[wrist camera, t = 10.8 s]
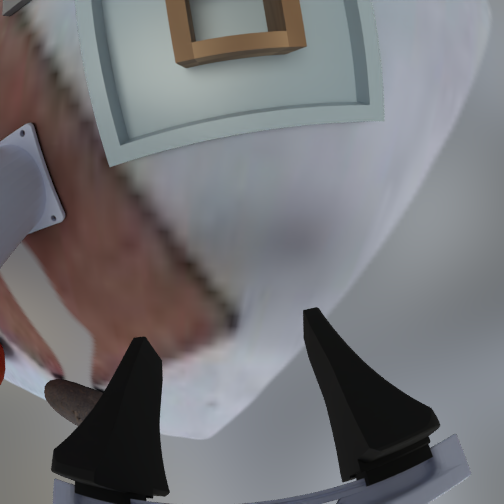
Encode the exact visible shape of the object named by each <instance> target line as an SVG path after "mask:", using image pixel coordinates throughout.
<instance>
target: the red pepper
mask: <svg viewBox="0 0 504 504" xmlns="http://www.w3.org/2000/svg"><path fill="white" fill-rule="evenodd" d="M4 374H5V354H4V350H3V347H2V345H1V344H0V385H1V383H2V381H3V379H4Z"/></svg>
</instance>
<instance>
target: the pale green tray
mask: <svg viewBox="0 0 504 504" xmlns="http://www.w3.org/2000/svg"><path fill="white" fill-rule="evenodd" d="M299 1H300V7H301V12H302V18H303V24H304V30H305V37H306V44H307V47H304V48H301V49H299V50H296V51H293V52H290V53H288V54H284V55H269V56H258V57H249V58H241V59H233V60H227V61H220V62H215V63H209V64H204V65H199V66H194V67H190V68H184V67H182V66H180V65H178V64H176V62H175V57H174V51H173V46H172V40H171V34H170V28H169V22H168V16H167V9H166V3H165V0H75V9H76V19H77V28H78V35H79V42H80V49H81V55H82V60H83V66H84V71H85V76H86V81H87V86H88V90H89V95H90V99H91V103H92V107H93V111H94V115H95V119H96V123H97V126H98V130H99V133H100V137H101V140H102V144H103V147H104V150H105V154H106V157H107V160H108V163H109V166H110V167H112V166H115V165H118V164H121V163H124V162H127V161H131V160H134V159H137V158H141V157H144V156H147V155H151V154H154V153H158V152H162V151H166V150H169V149H173V148H177V147H181V146H185V145H190V144H194V143H198V142H203V141H208V140H212V139H217V138H222V137H227V136H233V135H238V134H244V133H250V132H256V131H263V130H270V129H277V128H285V127H294V126H303V125H314V124H326V123H341V122H365V121H384V94H383V79H382V67H381V57H380V49H379V41H378V34H377V27H376V21H375V16H374V10H373V5H372V0H299ZM189 3H190V9H191V15H192V21H193V27H194V33H195V39H196V41H201V40H206V39H212V38H218V37H224V36H231V35H239V34H248V33H259V32H268V29H267V23H266V17H265V11H264V5H263V0H189Z"/></svg>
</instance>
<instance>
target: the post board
mask: <svg viewBox="0 0 504 504" xmlns="http://www.w3.org/2000/svg"><path fill="white" fill-rule="evenodd" d="M30 1H31V0H3V16H11V15H12V14H13V13H15V12H16V11H17V10H19V9H20V8H21V7H23V6H24V5H25V4H27V3H28V2H30Z"/></svg>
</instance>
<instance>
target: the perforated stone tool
mask: <svg viewBox="0 0 504 504" xmlns="http://www.w3.org/2000/svg"><path fill="white" fill-rule="evenodd" d="M44 393H45V398H46V400H47V401H48V403H49V404H50V405H51V406H52V407H53V409H54V410H55V411H56V412H58V413H59V414H60V415H61V416H63V417H64V418H66V419H67V420H69V421H70V422H72V423H73V424H75V425H77V426H79V425H80V424H81V423H82V422H83V420H84V419H85V418H86V417H87V415H88V414H89V413H90V412H91V410H92V409H93V408H94V406H95V405H96V403H97V402H98V400H99V399H100V397H101V396H102V394H103V392H100V391H97V390H94V389H92V388H89V387H85V386H83V385H80V384H77V383H74V382H70V381H67V380H62V379H55V380H50V381H49V382H48V383H47V384H46V386H45V391H44Z"/></svg>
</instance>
